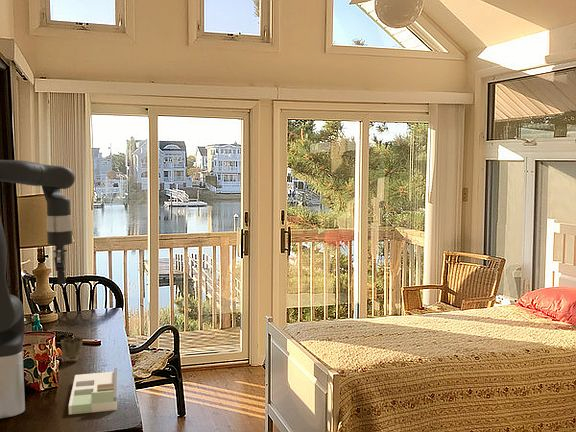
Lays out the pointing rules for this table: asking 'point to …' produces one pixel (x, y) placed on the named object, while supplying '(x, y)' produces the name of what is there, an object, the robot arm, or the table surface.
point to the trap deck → (93, 393)
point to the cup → (71, 348)
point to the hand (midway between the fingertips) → (61, 283)
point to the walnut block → (105, 387)
